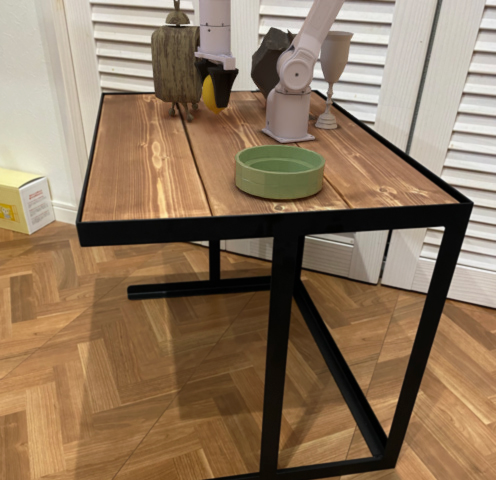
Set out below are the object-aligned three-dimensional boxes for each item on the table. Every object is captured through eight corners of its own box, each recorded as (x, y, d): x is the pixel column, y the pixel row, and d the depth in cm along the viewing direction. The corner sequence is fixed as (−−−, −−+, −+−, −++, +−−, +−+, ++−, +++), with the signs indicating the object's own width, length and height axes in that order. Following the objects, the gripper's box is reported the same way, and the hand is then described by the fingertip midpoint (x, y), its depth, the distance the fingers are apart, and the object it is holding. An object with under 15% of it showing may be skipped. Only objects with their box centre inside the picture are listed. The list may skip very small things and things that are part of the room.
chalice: (340, 131, 110) (353, 36, 99) (309, 128, 111) (318, 34, 100) (342, 122, 116) (354, 31, 105) (312, 120, 117) (321, 30, 106)
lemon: (215, 109, 106) (214, 67, 101) (235, 114, 103) (236, 71, 98) (197, 114, 102) (195, 70, 98) (217, 119, 100) (216, 74, 95)
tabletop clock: (197, 125, 111) (192, -13, 96) (155, 123, 111) (145, -15, 96) (203, 109, 123) (200, -17, 108) (165, 107, 123) (157, -18, 108)
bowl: (221, 176, 86) (221, 149, 83) (295, 167, 91) (297, 141, 88) (257, 208, 75) (259, 178, 73) (338, 195, 80) (342, 167, 78)
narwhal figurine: (301, 103, 130) (308, 21, 119) (315, 119, 118) (325, 29, 107) (245, 103, 128) (247, 20, 117) (255, 119, 116) (258, 28, 105)
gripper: (181, 21, 97) (185, 97, 105) (209, 30, 87) (210, 114, 95) (216, 20, 100) (217, 95, 108) (246, 29, 89) (245, 111, 97)
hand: (216, 103), depth 102 cm, fingers closed on lemon, 5 cm apart
